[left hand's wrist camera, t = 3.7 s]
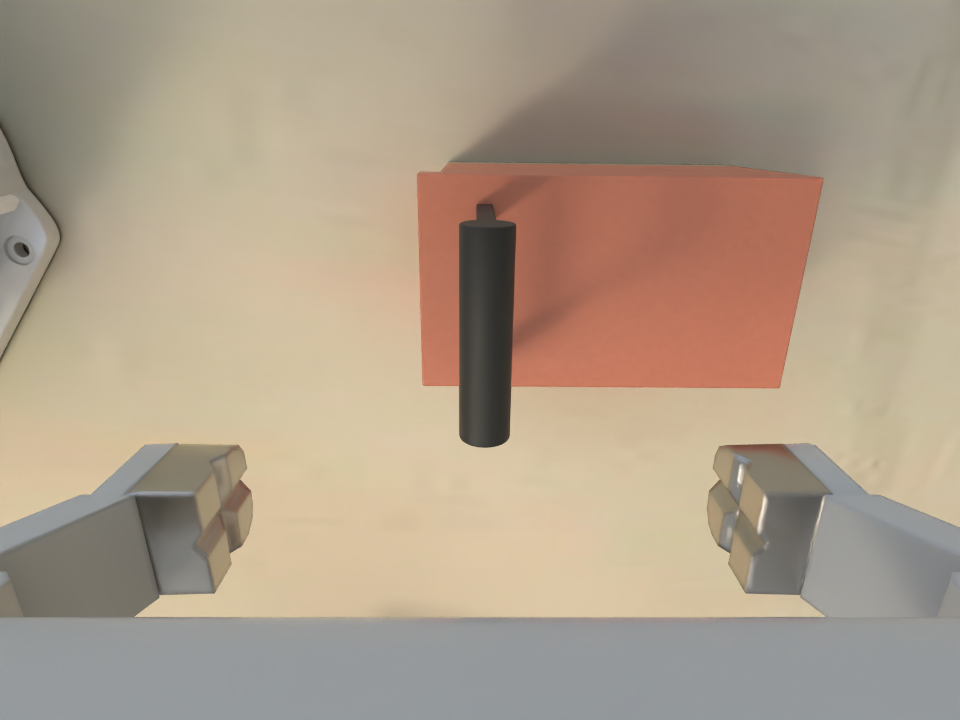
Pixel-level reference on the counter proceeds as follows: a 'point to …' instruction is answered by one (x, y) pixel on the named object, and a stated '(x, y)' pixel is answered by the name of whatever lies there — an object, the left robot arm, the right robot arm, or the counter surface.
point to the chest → (606, 169)
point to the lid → (606, 283)
